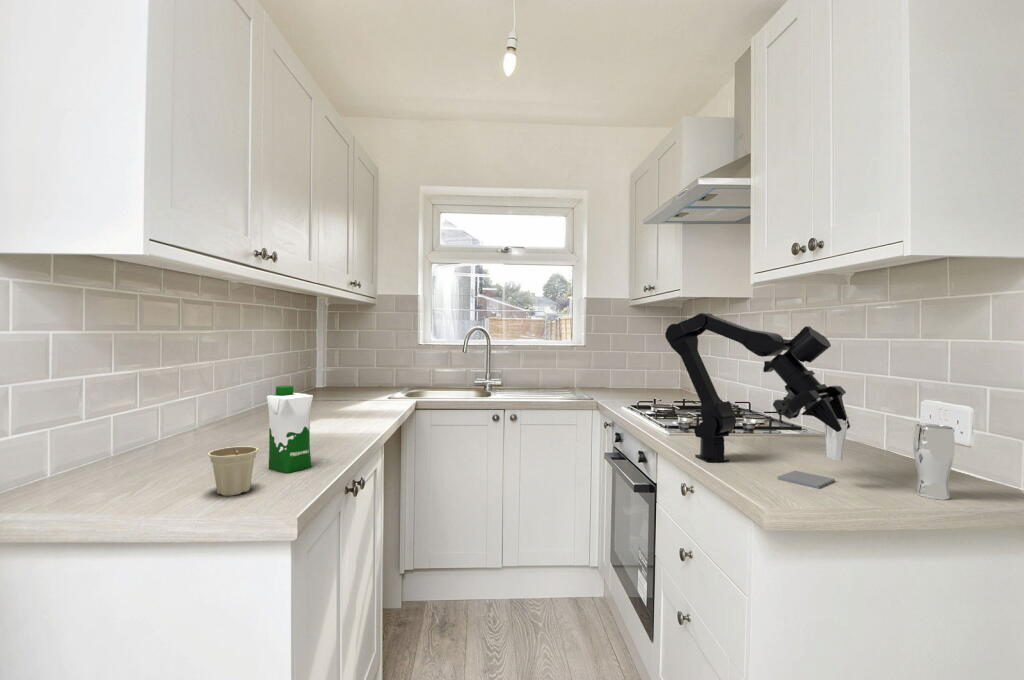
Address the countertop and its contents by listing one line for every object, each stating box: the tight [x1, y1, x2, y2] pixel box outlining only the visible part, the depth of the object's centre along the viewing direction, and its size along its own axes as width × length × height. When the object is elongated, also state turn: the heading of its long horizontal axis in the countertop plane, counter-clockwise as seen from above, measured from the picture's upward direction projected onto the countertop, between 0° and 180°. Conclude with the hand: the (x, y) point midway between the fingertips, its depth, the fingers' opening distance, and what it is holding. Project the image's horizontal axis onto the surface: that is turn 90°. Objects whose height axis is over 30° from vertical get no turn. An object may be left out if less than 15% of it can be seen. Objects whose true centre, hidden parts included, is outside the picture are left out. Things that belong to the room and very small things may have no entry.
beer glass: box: [912, 423, 956, 501], centre depth 115 cm, size 7×7×15 cm
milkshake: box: [823, 416, 850, 461], centre depth 120 cm, size 4×5×10 cm
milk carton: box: [266, 385, 314, 474], centre depth 131 cm, size 9×9×20 cm
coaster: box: [777, 469, 836, 489], centre depth 126 cm, size 9×9×1 cm
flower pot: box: [207, 445, 259, 497], centre depth 113 cm, size 9×9×9 cm
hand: (844, 429), depth 119 cm, fingers closed on milkshake, 4 cm apart
